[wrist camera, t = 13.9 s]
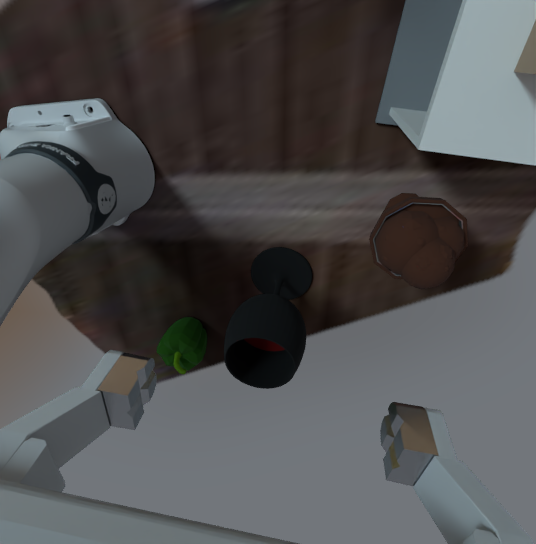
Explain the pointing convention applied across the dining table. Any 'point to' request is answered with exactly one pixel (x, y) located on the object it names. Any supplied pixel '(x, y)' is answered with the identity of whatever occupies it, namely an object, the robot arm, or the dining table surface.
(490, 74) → the cover
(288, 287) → the wine glass
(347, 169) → the dining table surface
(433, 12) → the mat
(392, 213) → the ice cream bowl
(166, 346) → the bell pepper
